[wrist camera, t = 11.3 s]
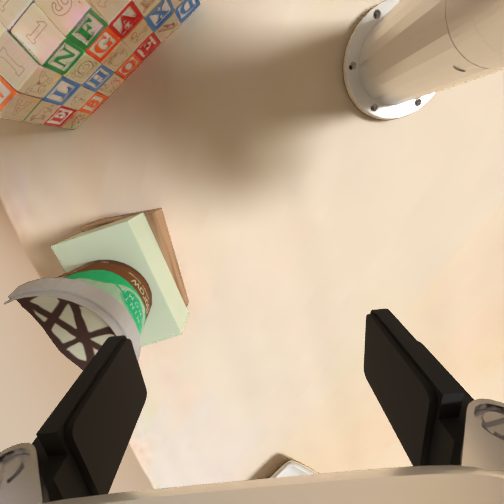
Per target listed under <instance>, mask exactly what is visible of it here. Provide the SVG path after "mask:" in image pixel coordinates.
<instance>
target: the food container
mask: <svg viewBox="0 0 504 504" xmlns="http://www.w3.org/2000/svg"><path fill="white" fill-rule="evenodd" d="M8 297H9V298H10V300H8V301H7V302H5V303H4V304H6V303H9V302H11V301H13V300H17V301H18V302H19V303H20V304H21V306H22V307H23V308H24V309H26V310H27V311H28V312H29V313H30V314H31V315H32V316H33V317H34V318H35V319H36V320H37V321H38V323H39V324H40V325H41V326H42V327H43V329H44V330H45V331H46V333H47V334H48V336H49V337H50V339H51V340H52V341H53V343H54V344H55V345H56V347H57V348H58V349H59V351H60V352H61V353H63V354H64V355H65V356H66V357H67V358H68V359H70V360H71V361H72V362H73V363H75V364H76V365H78V366H79V367H80V368H81V369H82V370H84V369H85V368H86V366H87V365H88V364H89V362H90V361H91V360H92V358H93V357H94V356H95V354H96V353H97V352H98V350H99V349H100V348H101V346H102V345H103V343H104V342H105V341H106V339H107V338H108V337H111V336H121V335H124V336H126V337H127V339H131V341H132V344H133V348H134V351H135V354H136V357H137V361H138V359H139V356H140V349H141V344H140V335H141V332H142V330H143V327H144V325H145V322H146V319H147V317H148V314H149V311H150V309H151V306H152V292H151V290H150V287H149V284H148V283H147V281H146V279H145V278H144V277H143V276H142V275H141V274H140V273H139V272H138V271H137V270H136V269H134V268H133V267H131V266H129V265H127V264H125V263H122V262H119V261H115V260H96V261H92V262H89V263H87V264H85V265H82V266H80V267H78V268H76V269H74V270H72V271H70V272H67V273H65V274H63V275H61V276H59V277H57V278H43V279H37V280H34V281H30V282H27V283H25V284H23V285H20V286H19V287H18V288H17V289H15V290H14V292H13V293H11V294H10V295H9V296H8Z"/></svg>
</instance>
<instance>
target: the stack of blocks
mask: <svg viewBox="0 0 504 504" xmlns="http://www.w3.org/2000/svg"><path fill="white" fill-rule="evenodd" d="M199 5H200V1H199V0H0V118H4V119H10V120H18V121H21V122H29V123H34V124H40V125H42V124H44V125H50V126H57V127H61V128H67V129H76V128H77V127H78V126H79V125H80V124H81V123H82V122H83V121H84V120H85V119H86V118H87V117H88V116H89V115H90V114H92V113H93V112H94V111H95V110H96V109H97V108H98V107H99V106H100V105H101V104H102V103H103V102H104V101H105V100H106V99H107V98H108V97H109V96H110V95H111V94H113V93H114V92H115V91H116V90H117V89H118V88H119V87H120V86H121V84H122V83H124V81H125V79H126V78H127V77H128V76H129V75H130V74H131V73H132V72H133V71H134V70H135V69H136V68H137V67H138V66H139V65H140V64H141V63H142V61H143V60H144V59H145V58H146V57H147V56H148V55H149V54H150V53H151V52H152V51H153V50H154V49H155V48H156V47H157V46H158V45H159V44H160V43H162V42H163V41H164V40H165V39H166V38H167V37H168V36H169V35H170V34H171V33H172V32H173V31H174V30H175V29H176V28H178V26H179V25H180V24H181V23H182V22H183V21H184V20H185V19H186V18H187V17H188V16H189V15H190V14H191V13H192V12H193V11H194V10H195V9H196V8H197V7H198V6H199Z"/></svg>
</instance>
